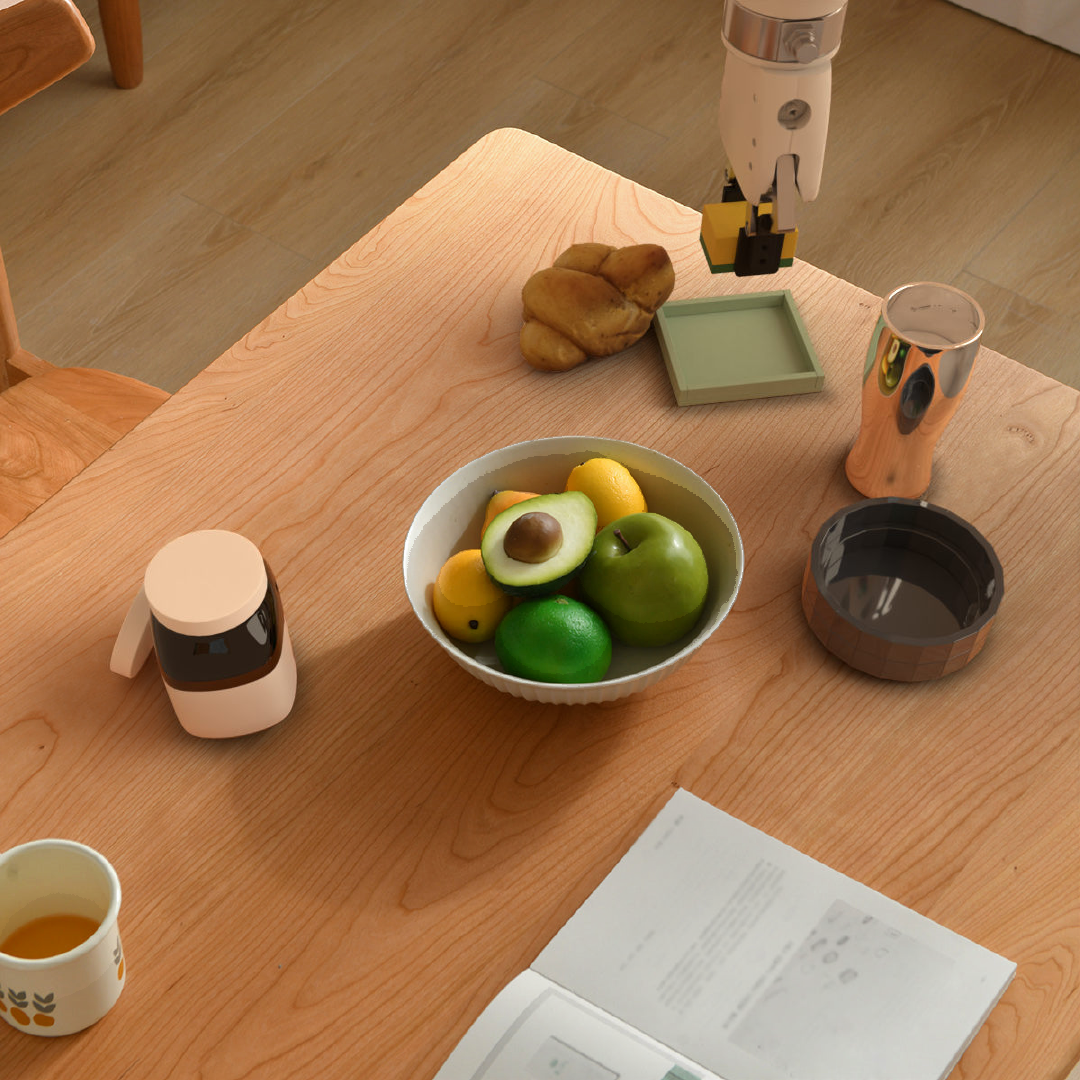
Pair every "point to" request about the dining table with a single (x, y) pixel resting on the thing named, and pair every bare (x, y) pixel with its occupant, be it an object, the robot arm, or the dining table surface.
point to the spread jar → (213, 635)
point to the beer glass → (912, 385)
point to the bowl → (901, 588)
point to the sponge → (733, 235)
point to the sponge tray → (736, 348)
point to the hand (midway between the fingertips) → (747, 249)
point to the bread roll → (592, 303)
